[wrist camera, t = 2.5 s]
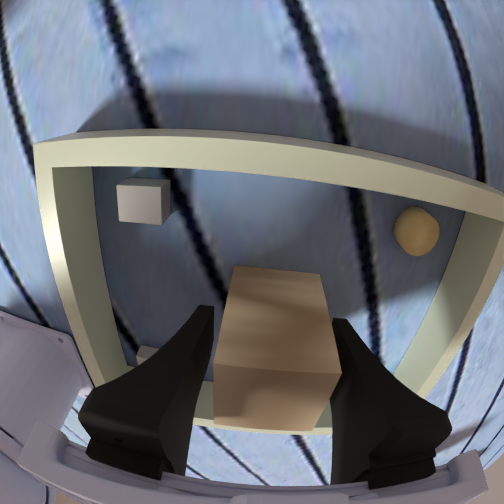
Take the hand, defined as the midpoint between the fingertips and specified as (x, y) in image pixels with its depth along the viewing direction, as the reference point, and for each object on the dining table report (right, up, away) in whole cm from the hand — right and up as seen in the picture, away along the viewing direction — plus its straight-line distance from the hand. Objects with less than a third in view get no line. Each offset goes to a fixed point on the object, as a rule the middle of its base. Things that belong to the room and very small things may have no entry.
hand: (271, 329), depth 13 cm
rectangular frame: (0, +1, +2) cm, 2 cm away
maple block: (0, +1, +2) cm, 2 cm away
